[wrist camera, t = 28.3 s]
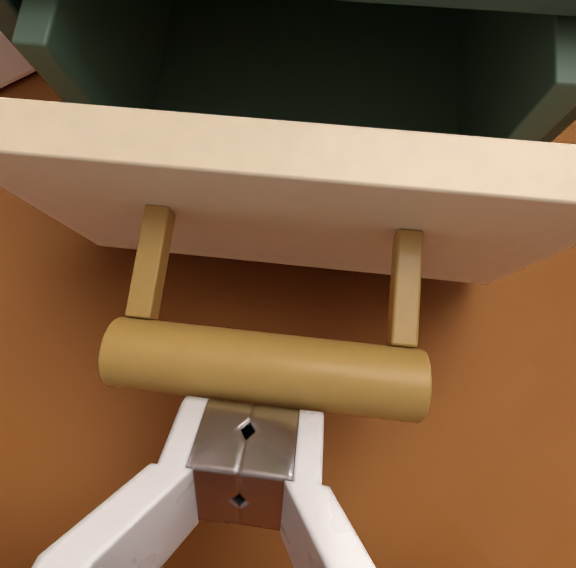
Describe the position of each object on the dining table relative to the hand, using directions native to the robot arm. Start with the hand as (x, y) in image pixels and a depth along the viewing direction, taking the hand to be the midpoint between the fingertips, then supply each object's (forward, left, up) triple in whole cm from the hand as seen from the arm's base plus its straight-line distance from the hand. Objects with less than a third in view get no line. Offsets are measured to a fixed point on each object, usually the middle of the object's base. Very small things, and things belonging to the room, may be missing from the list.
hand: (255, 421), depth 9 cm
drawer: (-5, +9, -5) cm, 11 cm away
